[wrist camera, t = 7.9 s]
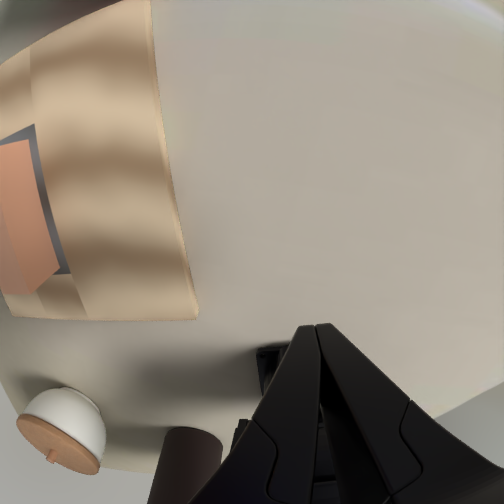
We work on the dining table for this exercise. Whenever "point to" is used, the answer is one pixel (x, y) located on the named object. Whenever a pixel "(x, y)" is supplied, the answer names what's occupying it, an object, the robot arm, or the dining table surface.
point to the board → (99, 170)
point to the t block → (22, 224)
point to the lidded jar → (65, 429)
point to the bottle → (184, 465)
